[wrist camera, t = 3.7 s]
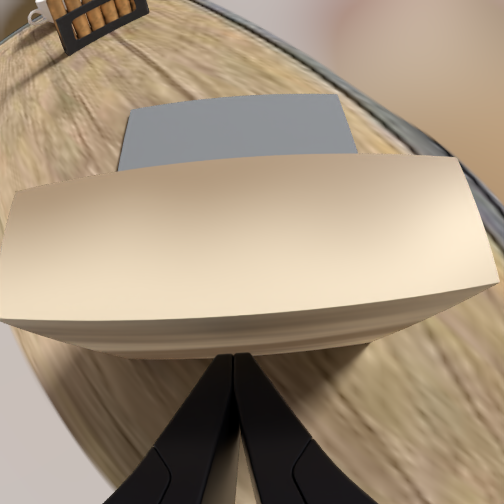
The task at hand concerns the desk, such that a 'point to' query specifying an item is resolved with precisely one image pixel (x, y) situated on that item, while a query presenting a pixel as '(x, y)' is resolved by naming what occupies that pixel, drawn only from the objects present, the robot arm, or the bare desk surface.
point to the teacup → (42, 12)
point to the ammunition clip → (91, 19)
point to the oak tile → (243, 254)
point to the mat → (235, 129)
